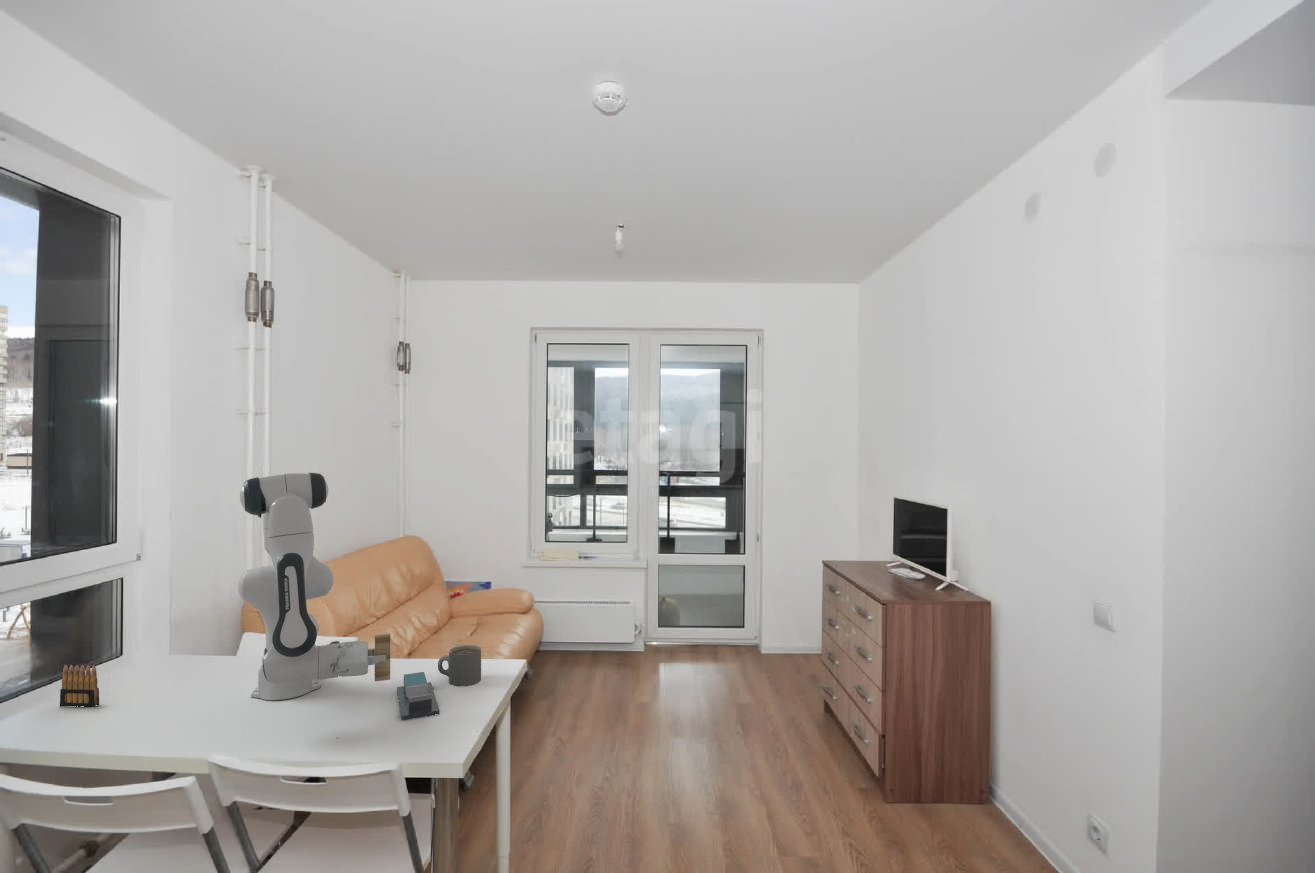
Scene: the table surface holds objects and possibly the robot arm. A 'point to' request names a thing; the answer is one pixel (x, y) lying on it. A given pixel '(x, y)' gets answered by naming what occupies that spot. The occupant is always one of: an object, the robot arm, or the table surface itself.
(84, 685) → the ammunition clip
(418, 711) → the vise
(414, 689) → the block
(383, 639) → the oak block
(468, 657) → the coffee mug
